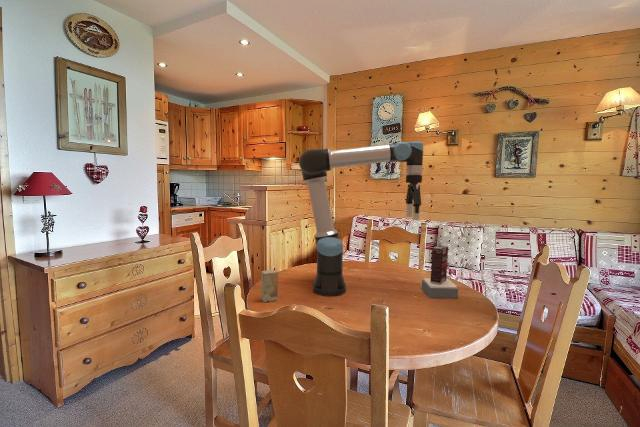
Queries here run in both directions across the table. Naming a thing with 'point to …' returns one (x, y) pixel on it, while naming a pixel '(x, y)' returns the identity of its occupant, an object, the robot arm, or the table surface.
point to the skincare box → (269, 285)
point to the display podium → (439, 289)
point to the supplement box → (439, 264)
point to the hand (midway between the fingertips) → (412, 218)
